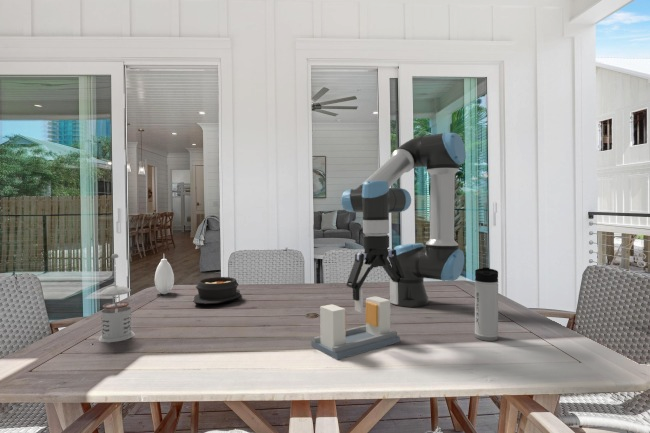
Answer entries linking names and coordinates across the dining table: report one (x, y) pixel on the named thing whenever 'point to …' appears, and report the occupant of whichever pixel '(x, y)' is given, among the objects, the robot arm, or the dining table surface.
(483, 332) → the travel mug
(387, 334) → the rail
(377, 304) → the white block orange panel
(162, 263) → the bulb air blower
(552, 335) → the dining table surface
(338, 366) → the dining table surface
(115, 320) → the french press
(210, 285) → the casserole
